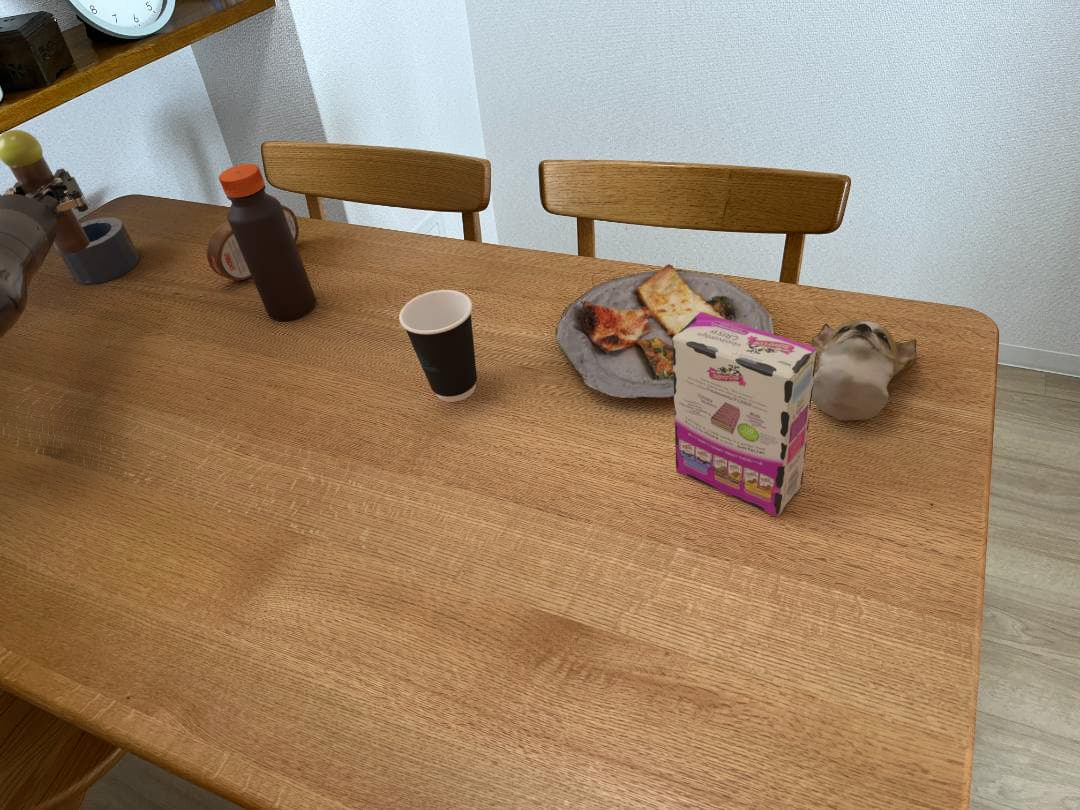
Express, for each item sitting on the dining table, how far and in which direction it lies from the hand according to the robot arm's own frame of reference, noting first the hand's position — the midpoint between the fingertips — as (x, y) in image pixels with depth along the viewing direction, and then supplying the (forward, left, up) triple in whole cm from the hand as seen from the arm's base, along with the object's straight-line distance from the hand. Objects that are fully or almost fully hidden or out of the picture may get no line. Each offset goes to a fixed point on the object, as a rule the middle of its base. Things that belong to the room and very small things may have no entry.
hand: (46, 179), depth 105 cm
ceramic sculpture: (+22, -99, -20) cm, 103 cm away
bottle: (+10, -27, -20) cm, 35 cm away
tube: (+7, +12, -20) cm, 24 cm away
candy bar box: (+5, -93, -20) cm, 95 cm away
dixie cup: (+5, -59, -20) cm, 62 cm away
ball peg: (-2, -2, -8) cm, 9 cm away
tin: (+17, -14, -20) cm, 30 cm away
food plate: (+22, -77, -20) cm, 82 cm away
